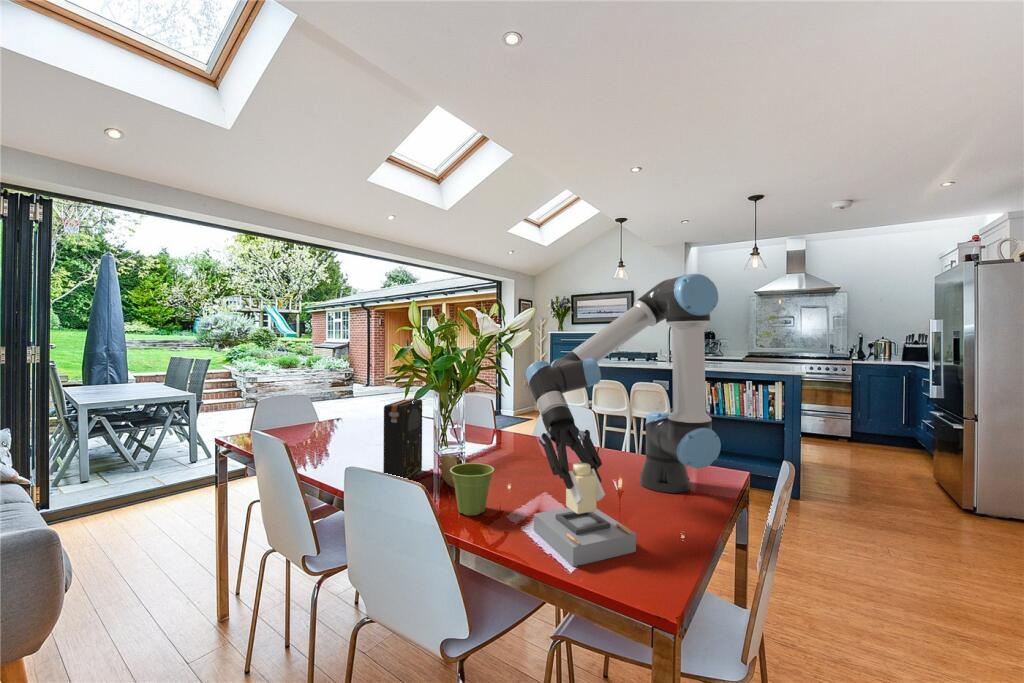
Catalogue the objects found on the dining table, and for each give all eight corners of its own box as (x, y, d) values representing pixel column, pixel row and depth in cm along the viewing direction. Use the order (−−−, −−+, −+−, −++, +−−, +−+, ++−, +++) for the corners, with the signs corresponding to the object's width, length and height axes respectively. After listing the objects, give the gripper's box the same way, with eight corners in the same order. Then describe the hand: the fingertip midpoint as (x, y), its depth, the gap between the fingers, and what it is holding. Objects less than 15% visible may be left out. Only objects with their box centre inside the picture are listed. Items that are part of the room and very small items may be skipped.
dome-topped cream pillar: (584, 502, 103) (584, 460, 103) (596, 510, 98) (597, 466, 98) (565, 505, 101) (566, 463, 101) (577, 514, 96) (578, 469, 96)
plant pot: (501, 514, 114) (502, 471, 114) (459, 523, 108) (460, 478, 108) (482, 499, 124) (482, 460, 124) (443, 507, 118) (443, 466, 118)
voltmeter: (405, 484, 136) (405, 405, 136) (380, 482, 138) (380, 404, 137) (425, 469, 151) (425, 398, 151) (402, 468, 153) (402, 397, 153)
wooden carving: (477, 491, 131) (477, 458, 130) (464, 495, 127) (465, 461, 127) (445, 478, 143) (445, 448, 142) (433, 481, 139) (434, 450, 139)
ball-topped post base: (589, 519, 111) (589, 500, 111) (635, 551, 95) (636, 529, 95) (533, 530, 105) (533, 509, 105) (573, 566, 88) (573, 542, 88)
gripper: (579, 419, 117) (616, 501, 102) (518, 423, 110) (548, 513, 95) (591, 402, 112) (631, 486, 97) (528, 406, 105) (561, 497, 90)
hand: (590, 499), depth 96 cm, fingers closed on dome-topped cream pillar, 5 cm apart
